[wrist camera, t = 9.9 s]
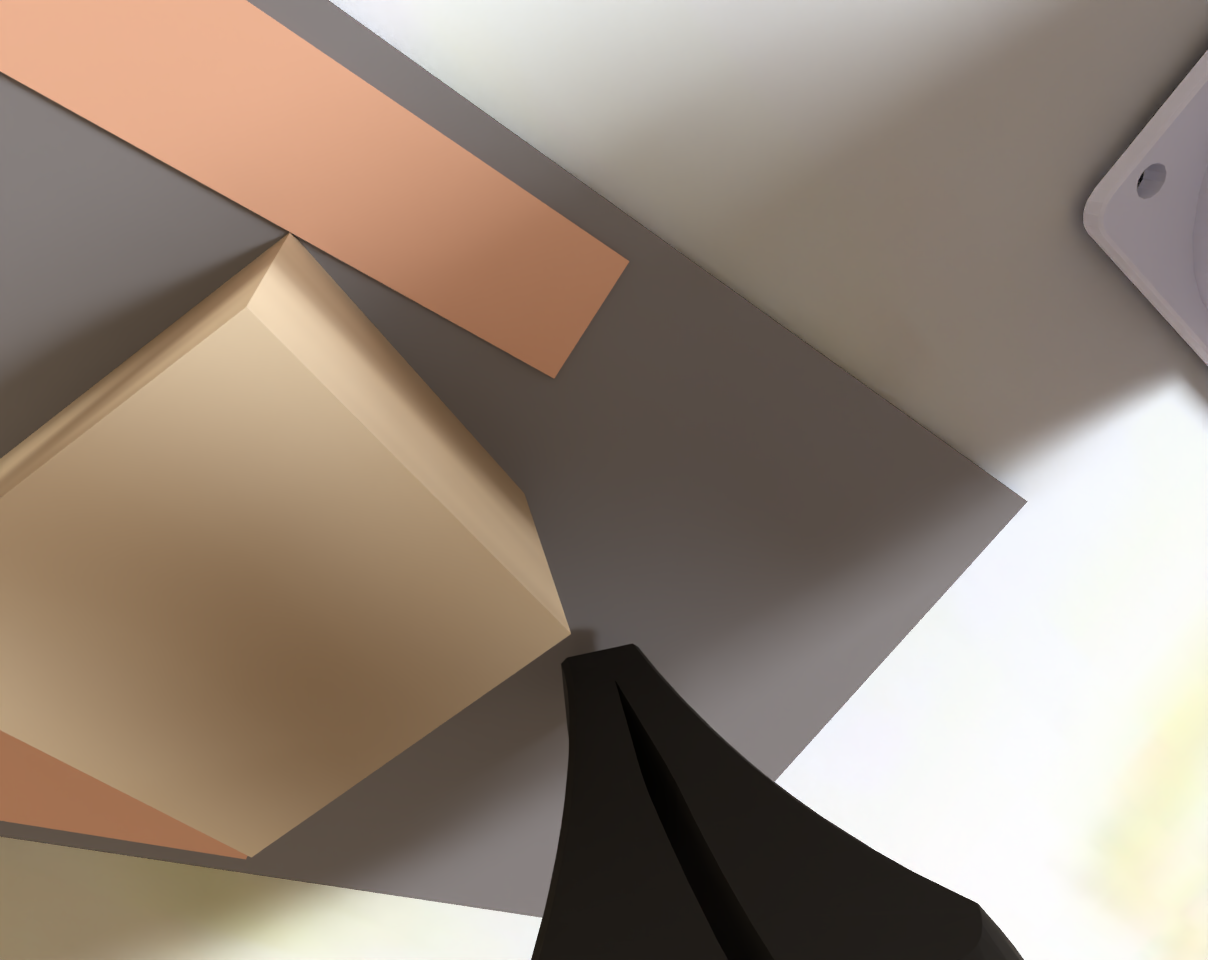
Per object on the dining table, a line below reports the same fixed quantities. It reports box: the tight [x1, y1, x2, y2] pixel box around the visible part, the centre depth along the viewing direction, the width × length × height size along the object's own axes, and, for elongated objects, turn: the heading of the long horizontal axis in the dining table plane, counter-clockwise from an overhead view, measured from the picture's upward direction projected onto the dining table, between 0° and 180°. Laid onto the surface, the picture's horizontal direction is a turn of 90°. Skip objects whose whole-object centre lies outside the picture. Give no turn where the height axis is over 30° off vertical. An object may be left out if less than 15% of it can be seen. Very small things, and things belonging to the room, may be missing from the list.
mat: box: [0, 0, 1027, 918], centre depth 13 cm, size 14×19×1 cm
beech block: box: [0, 232, 571, 857], centre depth 9 cm, size 5×5×4 cm
